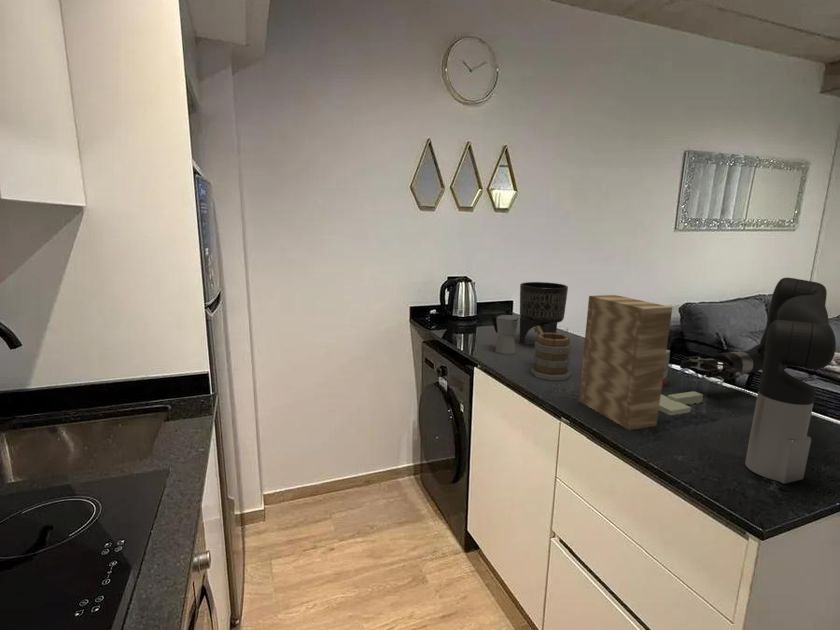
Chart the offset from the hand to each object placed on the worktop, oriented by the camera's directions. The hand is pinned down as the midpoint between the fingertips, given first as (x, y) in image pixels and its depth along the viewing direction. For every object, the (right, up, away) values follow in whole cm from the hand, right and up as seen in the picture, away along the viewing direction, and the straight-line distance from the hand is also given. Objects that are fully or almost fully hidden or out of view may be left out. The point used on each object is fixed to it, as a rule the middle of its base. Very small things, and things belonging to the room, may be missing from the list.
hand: (694, 369), depth 136 cm
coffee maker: (-48, +1, +51) cm, 70 cm away
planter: (-30, +3, +62) cm, 69 cm away
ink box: (-4, -7, +18) cm, 19 cm away
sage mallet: (-6, -10, -1) cm, 12 cm away
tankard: (-37, -4, +27) cm, 46 cm away
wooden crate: (-27, -11, -8) cm, 30 cm away
